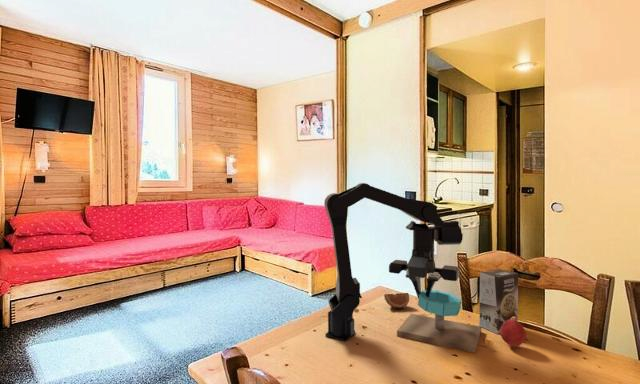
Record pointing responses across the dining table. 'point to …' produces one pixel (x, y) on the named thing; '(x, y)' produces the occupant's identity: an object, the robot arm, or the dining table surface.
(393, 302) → the fruit slice
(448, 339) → the hook board
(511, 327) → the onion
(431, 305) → the teal octagonal ring
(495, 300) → the coffee box
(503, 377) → the dining table surface
